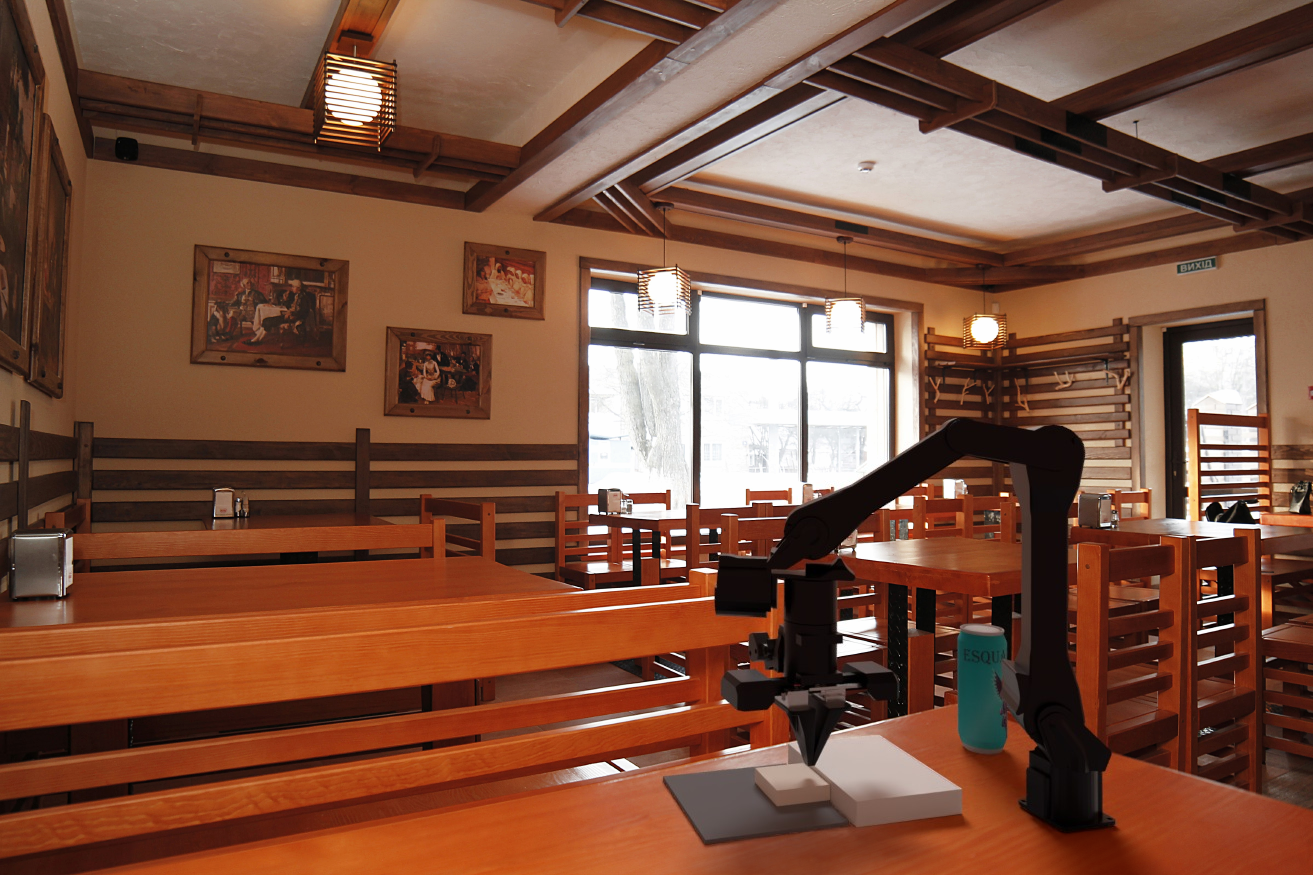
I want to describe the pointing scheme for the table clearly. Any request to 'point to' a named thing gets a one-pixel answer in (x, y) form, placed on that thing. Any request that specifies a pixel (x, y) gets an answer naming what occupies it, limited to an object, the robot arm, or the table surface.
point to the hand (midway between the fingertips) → (809, 764)
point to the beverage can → (981, 688)
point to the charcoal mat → (743, 807)
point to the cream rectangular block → (792, 784)
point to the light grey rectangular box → (880, 782)
